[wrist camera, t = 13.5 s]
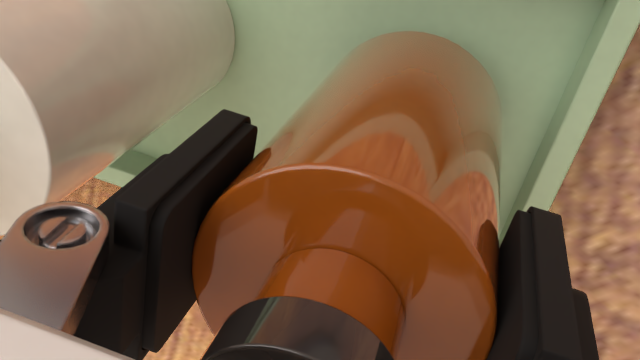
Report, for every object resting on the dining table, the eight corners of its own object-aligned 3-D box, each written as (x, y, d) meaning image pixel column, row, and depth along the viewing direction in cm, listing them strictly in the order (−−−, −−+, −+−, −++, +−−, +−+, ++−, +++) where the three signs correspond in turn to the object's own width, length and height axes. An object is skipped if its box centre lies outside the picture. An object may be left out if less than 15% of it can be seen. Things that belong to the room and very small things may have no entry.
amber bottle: (532, 60, 15) (568, 363, 6) (466, 221, 18) (420, 608, 8) (342, 7, 16) (106, 201, 7) (306, 169, 19) (102, 472, 9)
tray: (653, -54, 15) (673, -44, 13) (498, 279, 21) (497, 317, 19) (-134, -248, 19) (-202, -260, 17) (-81, 85, 24) (-127, 101, 23)
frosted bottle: (245, -30, 18) (-191, 134, 7) (225, 117, 20) (-114, 413, 9) (98, -71, 18) (-518, 16, 7) (97, 76, 21) (-363, 306, 10)
